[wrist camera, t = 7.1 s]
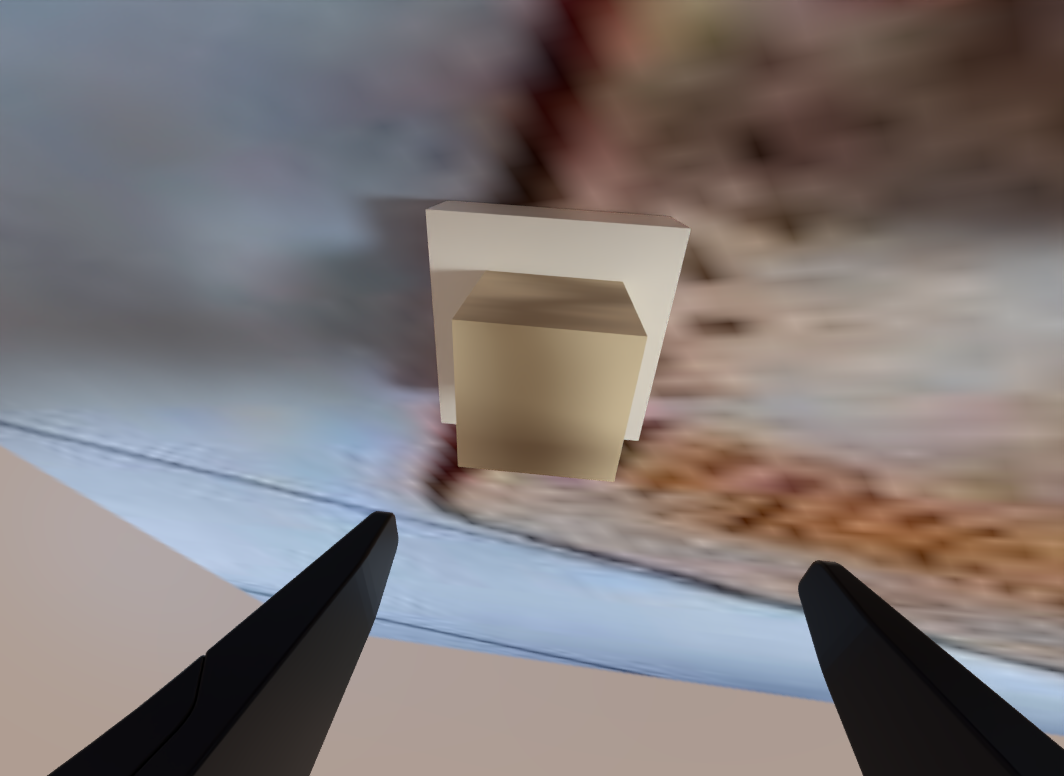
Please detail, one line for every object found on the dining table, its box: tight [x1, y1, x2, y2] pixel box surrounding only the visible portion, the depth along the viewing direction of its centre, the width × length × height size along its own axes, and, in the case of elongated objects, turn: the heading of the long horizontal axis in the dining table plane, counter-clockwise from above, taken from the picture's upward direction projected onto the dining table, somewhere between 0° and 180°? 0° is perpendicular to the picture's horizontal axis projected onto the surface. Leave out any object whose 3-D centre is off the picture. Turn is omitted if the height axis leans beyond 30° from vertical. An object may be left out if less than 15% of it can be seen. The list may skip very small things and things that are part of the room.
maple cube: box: [452, 270, 648, 482], centre depth 13 cm, size 5×5×5 cm
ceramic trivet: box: [426, 200, 691, 441], centre depth 17 cm, size 9×9×3 cm
